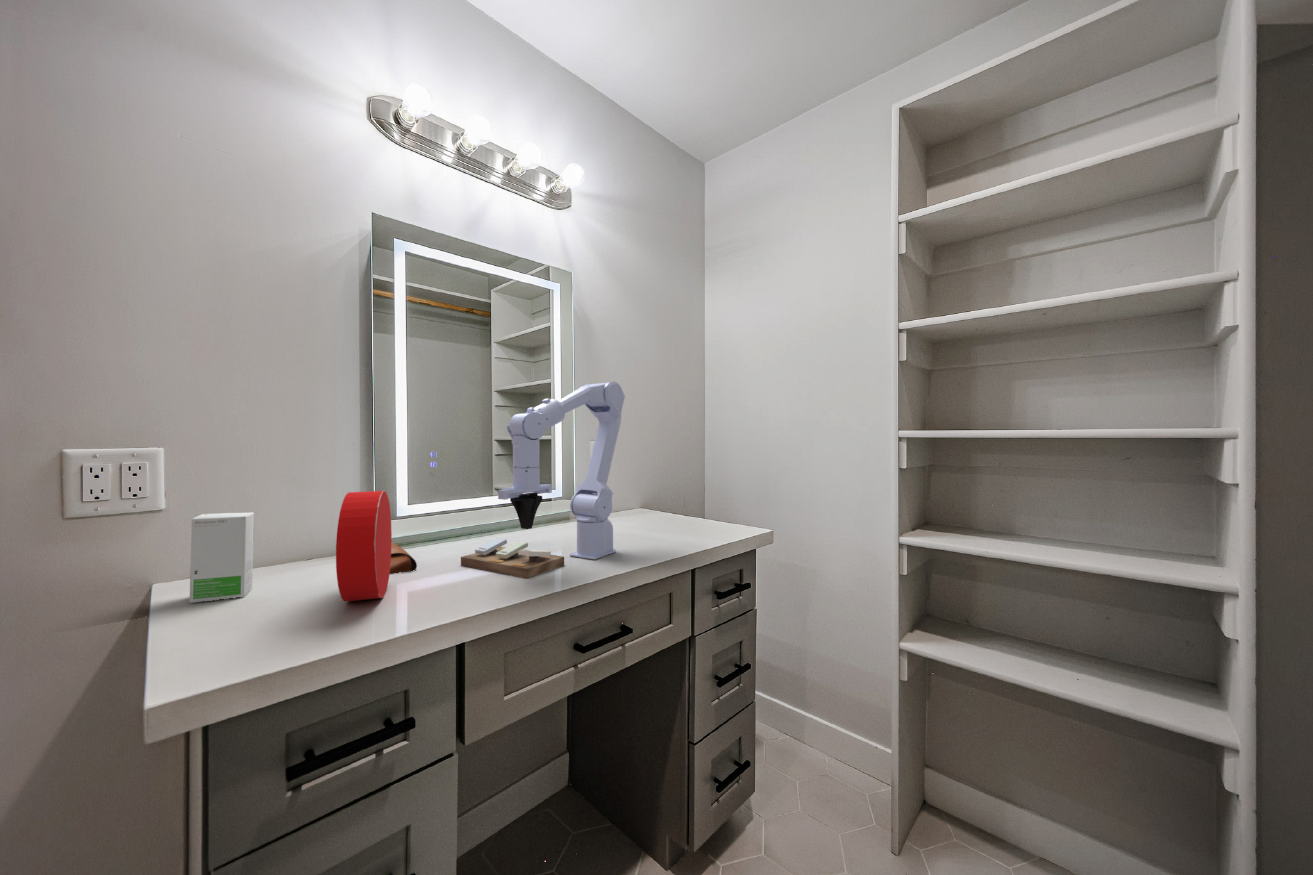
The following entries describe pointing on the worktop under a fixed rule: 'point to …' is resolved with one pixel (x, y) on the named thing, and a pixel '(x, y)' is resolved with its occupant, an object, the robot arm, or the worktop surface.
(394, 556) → the sunglasses case
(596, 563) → the worktop surface
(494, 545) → the bluegrey rocker
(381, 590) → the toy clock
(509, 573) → the switch panel
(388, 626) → the worktop surface
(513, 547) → the sage rocker
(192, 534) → the skincare box
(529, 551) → the cream rocker
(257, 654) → the worktop surface
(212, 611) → the worktop surface
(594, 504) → the robot arm
